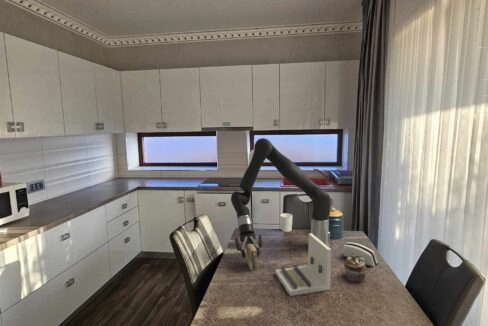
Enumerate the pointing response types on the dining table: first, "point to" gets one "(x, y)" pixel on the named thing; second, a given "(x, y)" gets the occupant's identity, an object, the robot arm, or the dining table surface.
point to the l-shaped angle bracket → (309, 271)
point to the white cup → (286, 222)
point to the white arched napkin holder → (360, 253)
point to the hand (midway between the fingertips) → (251, 257)
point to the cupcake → (355, 268)
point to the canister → (335, 224)
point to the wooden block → (251, 257)
